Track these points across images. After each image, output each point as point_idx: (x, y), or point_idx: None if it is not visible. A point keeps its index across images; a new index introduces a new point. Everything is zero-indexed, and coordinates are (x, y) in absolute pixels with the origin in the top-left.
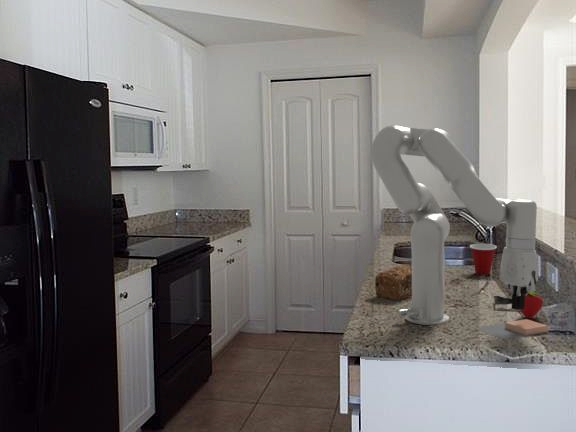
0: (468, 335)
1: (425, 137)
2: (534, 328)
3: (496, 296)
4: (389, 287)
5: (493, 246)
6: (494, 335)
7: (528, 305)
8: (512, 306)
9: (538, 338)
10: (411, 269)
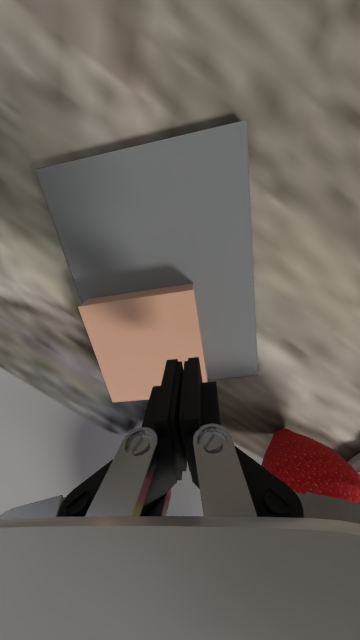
0: (167, 28)
1: None
2: (93, 347)
3: None
4: None
5: None
6: (102, 163)
7: (278, 469)
8: (192, 363)
9: (78, 330)
10: None
